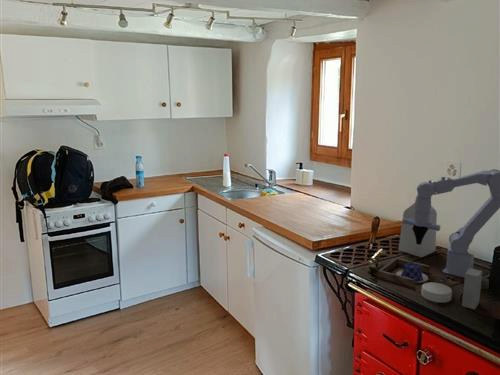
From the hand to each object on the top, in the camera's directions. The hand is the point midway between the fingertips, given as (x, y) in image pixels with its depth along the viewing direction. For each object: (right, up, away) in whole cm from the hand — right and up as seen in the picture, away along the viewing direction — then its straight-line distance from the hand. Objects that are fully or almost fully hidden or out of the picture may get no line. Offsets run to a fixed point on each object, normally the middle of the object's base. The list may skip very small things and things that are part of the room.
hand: (418, 243), depth 177 cm
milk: (+8, -6, +22) cm, 24 cm away
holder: (-9, -12, -4) cm, 15 cm away
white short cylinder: (-3, -16, -23) cm, 28 cm away
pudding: (-6, -13, -7) cm, 16 cm away
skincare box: (+6, -17, -30) cm, 35 cm away
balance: (-16, -10, +3) cm, 20 cm away
